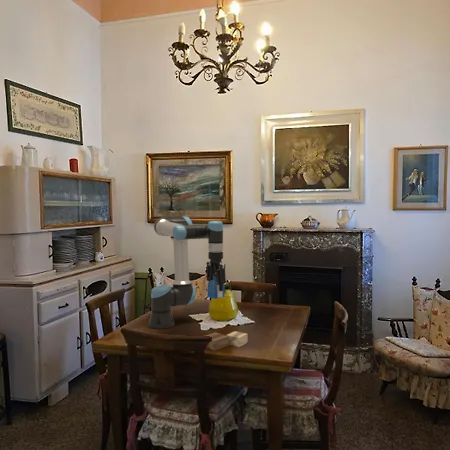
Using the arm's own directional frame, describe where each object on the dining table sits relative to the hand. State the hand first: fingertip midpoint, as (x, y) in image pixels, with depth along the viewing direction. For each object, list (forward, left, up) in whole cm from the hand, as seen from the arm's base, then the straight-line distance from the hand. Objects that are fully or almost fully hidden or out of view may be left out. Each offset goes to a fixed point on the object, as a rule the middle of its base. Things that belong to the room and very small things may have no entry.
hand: (216, 296), depth 221 cm
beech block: (+5, +10, -26) cm, 28 cm away
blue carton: (0, 0, -1) cm, 1 cm away
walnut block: (+1, -1, -26) cm, 26 cm away
